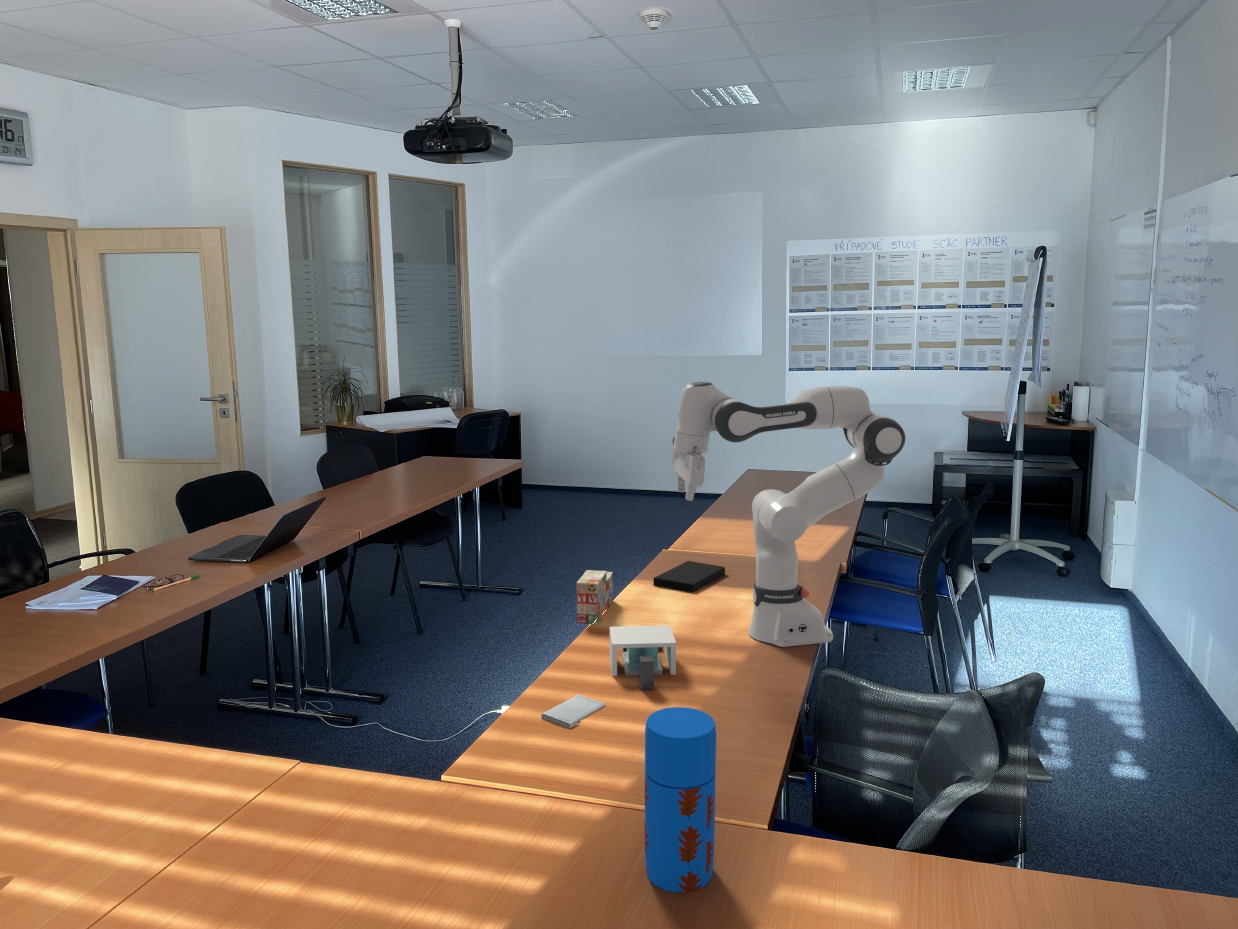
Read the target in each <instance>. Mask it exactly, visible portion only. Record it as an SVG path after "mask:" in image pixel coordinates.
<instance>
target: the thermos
mask: <svg viewBox="0 0 1238 929" xmlns="http://www.w3.org/2000/svg"><path fill="white" fill-rule="evenodd" d="M716 765H717V729H716V723H715V721H714V717H712V716H711V715H709V714H708V713H707V712H705V711H702V710H700V709H696V708H691V707H687V706H686V707H679V706H674V707H665V708H662V709H659V710H655V711H654V712H653V713H651V714H649V716H648V717H647V719H646V721H645V728H644V856H645V857H644V858H645V859H644V860H645V862H644V863H645V871H646V876H647V878H648V880H649V881H650V882H651V883H652V884H653V885H655V886H657V887H658V888H660V889H662V890H665V891H669V892H672V893H688V892H695V891H697V890H700V889H702V888H704V887H706V885H707V884H708V883H709V882H711V879H712V876H713V873H714V872H713V871H714V858H715V838H716V836H715V832H716V831H715V830H716V826H715V824H716V823H715V822H716V778H717V776H716V774H717V773H716V771H717V766H716Z"/></svg>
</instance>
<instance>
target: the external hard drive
mask: <svg viewBox="0 0 1238 929" xmlns="http://www.w3.org/2000/svg"><path fill="white" fill-rule="evenodd" d="M725 575H726V567H725V566H721V565H715V564H709V563H702V562H697V561H692V560H691V561H690V560H687V561H684V562H683V563H681V564H679V565H677V566H675V567H673V568H671V569H669V570H667V571H664V572H663V573H661V574H658V575H657V576H654V577H653V584H652V585H653V586H654V587H660V588H665V589H670V590H675V591H681V592H686V593H695V592H697V591H698V590H700V589H702V588H704V587H706V586H708V585H710V584H711V583H713V582H715V581H717V580H718V579H720V578H721V577H723V576H725Z"/></svg>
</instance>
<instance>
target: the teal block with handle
mask: <svg viewBox="0 0 1238 929" xmlns="http://www.w3.org/2000/svg"><path fill="white" fill-rule="evenodd" d="M621 656H622V663H623V669H624V675H625V676H626V677H627V676H639V689H640V691H654V690H655V687H654V684H655V683H654V681H655V680H654V679H655V677H654V676H658V675H659V676H661V675H663V672H664V670H663V667H662V662H661V659H660V655H659V651H658V647H644V648H627V652H623V651H622V652H621Z"/></svg>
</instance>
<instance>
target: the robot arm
mask: <svg viewBox="0 0 1238 929" xmlns="http://www.w3.org/2000/svg"><path fill="white" fill-rule="evenodd" d="M680 395H681V396H680V399H679V405H678V410H677V418H678V423H677V426H676V429H675V434H674V435H673V437H672V440H671V441H672V442H671V444H672V446H673V449H672V470H673V472H674V473H676V482H677V489H676V490H677V491H678V492H679V493H684V492H685V497H684V498H685V499H686V501H687V502H688V501H689V502H692V501H693V500H694V496H695V493H696V490H697V487H699V488H700V487H703V484H704V482H705V471H706V459H705V457H704V455H705V454H708V451H709V443H710V435H711V432H717V433H718V434H719V435H720V437H721V438H723V439H724V440H725V441H727V442H731V443H742V442H744V441H746V440H748V439H750V438H752V437H755V436H757V435H758V434H761V433H765V432H766V433H767V432H774V431H780V430H788V429H803V430H830V429H837V428H840V429H841V428H842V430H843V433H844V438H845V439H846V441H847V442H848V443H849V446H850V447H852V448H853V450H852V451H851V453H850V454H849V455H848V456H846V457H845V458H844V459H842V460H839V461H837V462H836V463H833V464H831V465H829V466H827V467H825V468H823V469H821V470H818V471H817V472H814V473H813V474H810V475H809V476H807V477H806V478H805V479H804V481H803V482H802V483H800V484H799V485H798V486H797V487H796V488H794V489H793V490H791V491H789V492H788V493H784V492H783V491H782V490H778V489H771V488H770V489H764V490H761V491H760V492H758V493H757V494H756V495H755V496H754V498H753V500H752V504H751V511H752V524H753V525H752V526H753V536H754V537H753V538H754V546H755V560H756V561H755V581H754V583H753V590H752V592H753V593H752V594H753V595H752V602H753V610H752V612H753V613H752V618H751V622H750V626H749V628H748V632H747V633H748V635H749V636H750V637H751V638H752V639H755V640H757V641H759V642H764V643H768V644H772V645H775V646H778V647H779V648H780V647H782V648H786V647H787V648H788V647H795V646H805V645H813V644H814V645H816V644H823V643H825V644H826V643H831V642H832V641H834V634H833V632H832V630H831V629H830V628H829V627H828V626H827V625H825V620H824V617H823V616H824V615H823V614H822V612H821V611H820V609H818V608H817V607H816V606H815V605H813V604H812V603H811V602H809V601H808V600H807V599H808V597H809V596H810V591H809V590H808V589H807V588H804V587H803V586H802V585H801V584H799V583H798V570H799V566H798V564H799V557H798V552H797V548H796V547H797V546H796V541H797V540H799V539H800V538H801V537H803V535H804V534H805V532H806V531H807V530H808V529H809V528H811V527H812V526H813V525H814V524H816V523H817V522H818V521H819V520H821V519H822V518H824V517H825V516H827V515H828V514H830V513H832V512H834V511H837V510H838V509H840V508H842V507H844V506H846V505H848V504H851V503H852V502H854V501H856V500H858V499H860V498H861V497H863V496H864V495H866V494H868V493H870V492H871V491H873V490H874V489H876V487H878V486H879V485H881V483H883V481H884V479H885V466H888V465H890V464H891V462H892V461H893V459H895V458H896V457H897V455H899V454H900V453H901V451H902V450H903V448H904V446H905V444H906V434H905V430H904V429H903V427H902V426H901V424H899V423H898V422H897V421H896V419H895V420H894V419H893V418H890V417H887V416H886V415H883V414H881V413H876V412H873V411H872V410H871V408H870V406H871V404H870V399H869V396H868V394H867V392H866V391H865V390H863V389H862V388H859V387H856V386H848V385H847V386H844V385H830V386H817V387H813V388H809V389H805V390H802V391H800V392H798V393H797V395H795V397H794V399H793V400H792V401H790V402H787V403H783V404H773V405H767V406H766V405H765V406H754V405H751V404H747V403H744V402H742V401H740V400H738V399H736V398H735V397H732V396H730V395H729V394H726V393H725V392H723V391H721V390H720V389H719V388H717V387H716V386H715V385H714V384H713V383H712V382H708V381H697V382H690V383H687V384H686V385H685V386H684V387H683V389H682V391H681V394H680ZM703 454H704V455H703ZM686 484H687V488H686ZM686 489H687V490H686ZM806 598H807V599H806Z"/></svg>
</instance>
